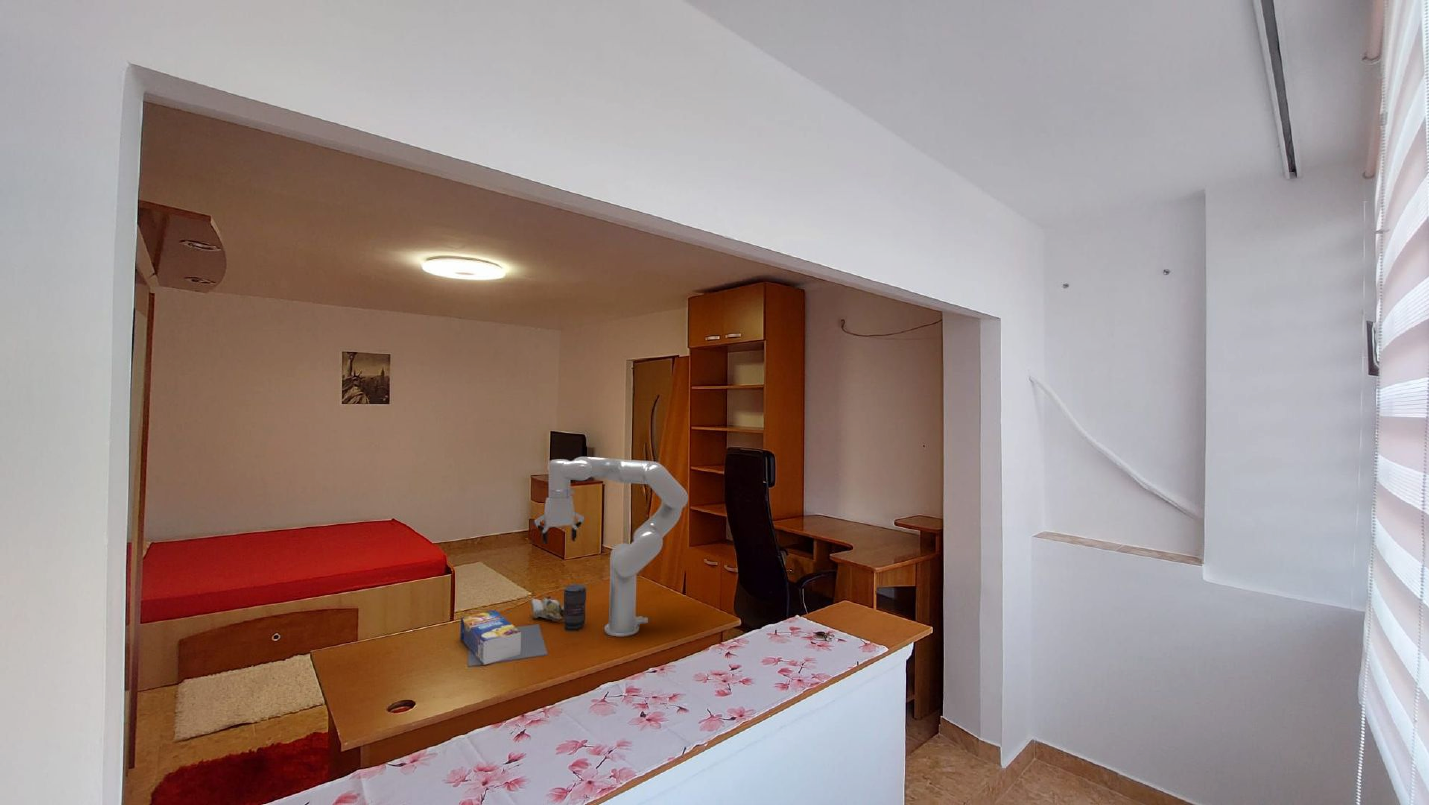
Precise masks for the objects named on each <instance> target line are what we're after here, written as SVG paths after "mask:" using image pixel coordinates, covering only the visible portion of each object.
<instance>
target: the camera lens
mask: <svg viewBox="0 0 1429 805" xmlns="http://www.w3.org/2000/svg"><path fill="white" fill-rule="evenodd" d="M586 602H587V587H586V585H584V584H570V585H567V586H565V587H564V590H563V607H564V614H563V617H562V618H563V625H564V629H565V631H568V632H577V631H580V630H583V628H584V625H585V622H586Z"/></svg>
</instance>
